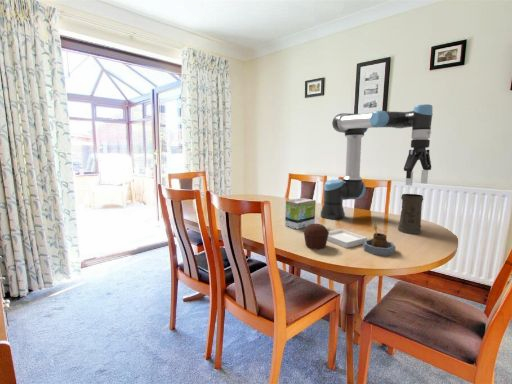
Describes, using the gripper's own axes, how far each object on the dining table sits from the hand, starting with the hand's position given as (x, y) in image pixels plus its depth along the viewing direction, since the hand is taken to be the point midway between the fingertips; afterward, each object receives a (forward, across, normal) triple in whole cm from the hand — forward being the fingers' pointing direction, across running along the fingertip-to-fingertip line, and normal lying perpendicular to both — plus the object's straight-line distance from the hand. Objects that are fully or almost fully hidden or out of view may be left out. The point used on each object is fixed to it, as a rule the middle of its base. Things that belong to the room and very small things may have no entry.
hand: (416, 184), depth 133 cm
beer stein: (+27, +11, +8) cm, 30 cm away
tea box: (+27, -32, +47) cm, 62 cm away
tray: (+26, -32, +16) cm, 44 cm away
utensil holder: (+27, -29, -2) cm, 40 cm away
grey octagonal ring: (+26, -29, -2) cm, 40 cm away
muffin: (+27, -48, +17) cm, 58 cm away
